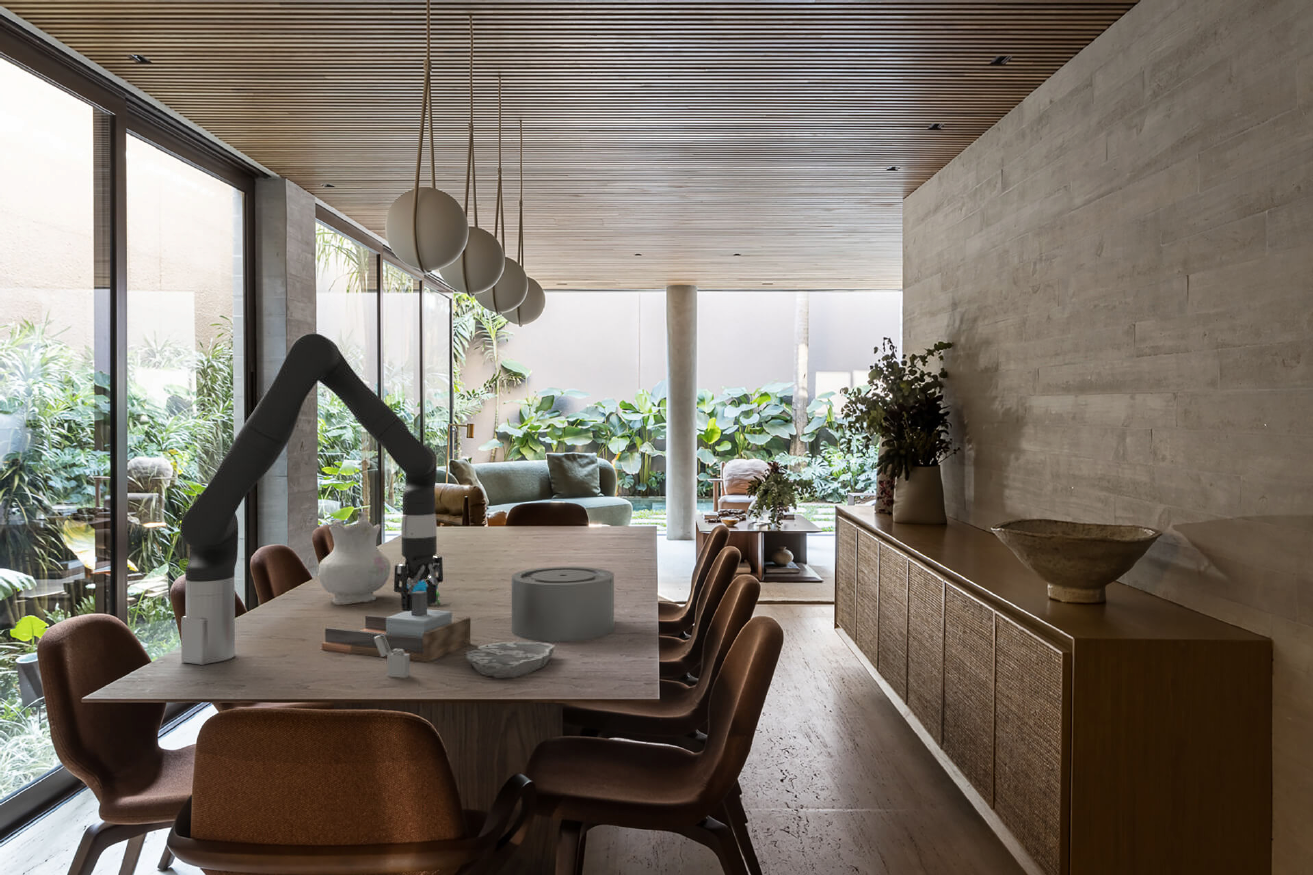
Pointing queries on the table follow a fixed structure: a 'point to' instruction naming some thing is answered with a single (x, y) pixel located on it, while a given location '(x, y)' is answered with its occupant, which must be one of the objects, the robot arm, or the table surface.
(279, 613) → the table surface
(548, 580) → the container
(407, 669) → the lighter
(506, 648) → the grey flat stone
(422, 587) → the blue spiky round piece
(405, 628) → the block with peg
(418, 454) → the robot arm
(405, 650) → the bay
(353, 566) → the white scalloped vase
